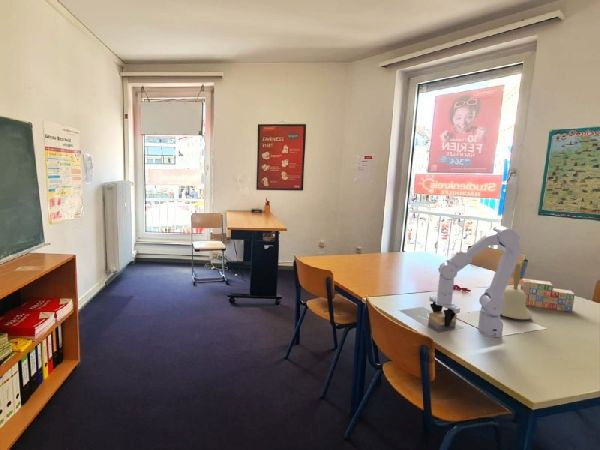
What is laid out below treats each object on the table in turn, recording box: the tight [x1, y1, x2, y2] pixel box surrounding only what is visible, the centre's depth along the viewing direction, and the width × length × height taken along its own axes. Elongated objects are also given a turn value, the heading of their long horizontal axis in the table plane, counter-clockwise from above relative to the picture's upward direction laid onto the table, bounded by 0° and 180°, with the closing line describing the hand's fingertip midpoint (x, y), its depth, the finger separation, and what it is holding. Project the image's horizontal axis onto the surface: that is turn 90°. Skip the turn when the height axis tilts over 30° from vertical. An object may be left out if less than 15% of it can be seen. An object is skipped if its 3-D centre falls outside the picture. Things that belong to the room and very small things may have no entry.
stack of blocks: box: [520, 278, 575, 313], centre depth 174 cm, size 21×6×12 cm, turn 64°
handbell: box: [500, 262, 533, 320], centre depth 158 cm, size 15×15×25 cm
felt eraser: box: [428, 310, 457, 329], centre depth 143 cm, size 10×5×5 cm, turn 113°
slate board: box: [398, 306, 464, 334], centre depth 150 cm, size 24×14×1 cm, turn 23°
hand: (442, 323), depth 144 cm, fingers closed on felt eraser, 5 cm apart
